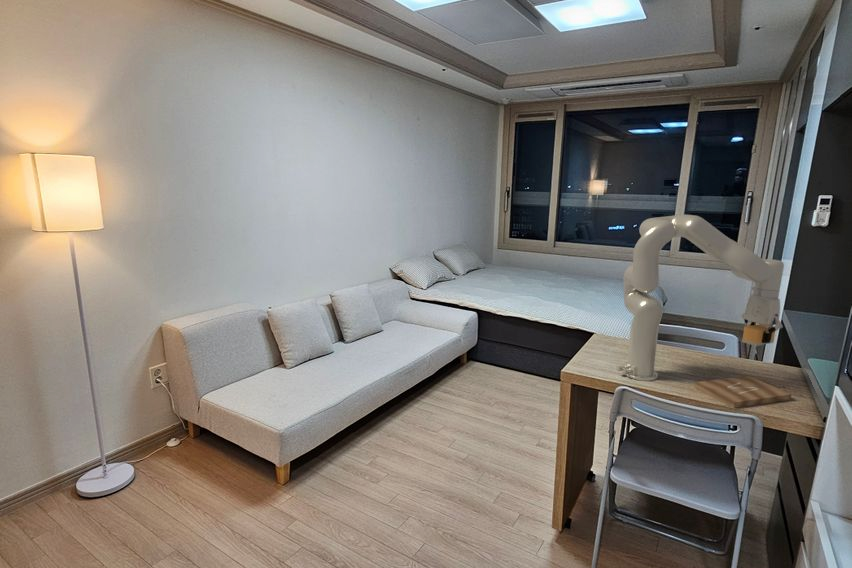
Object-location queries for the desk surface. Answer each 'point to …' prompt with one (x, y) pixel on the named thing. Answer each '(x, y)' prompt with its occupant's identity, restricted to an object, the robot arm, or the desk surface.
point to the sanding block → (755, 335)
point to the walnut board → (742, 391)
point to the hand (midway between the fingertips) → (758, 339)
